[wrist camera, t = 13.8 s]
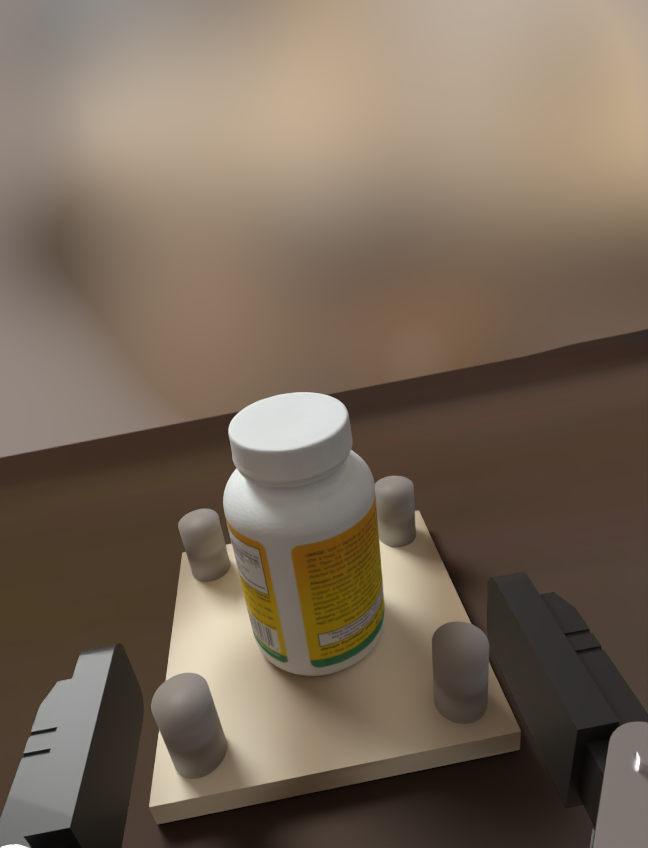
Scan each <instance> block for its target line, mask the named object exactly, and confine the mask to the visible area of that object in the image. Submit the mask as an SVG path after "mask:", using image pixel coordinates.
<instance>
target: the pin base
mask: <svg viewBox="0 0 648 848" xmlns="http://www.w3.org/2000/svg"><path fill="white" fill-rule="evenodd" d="M375 494H376V507H377V519H378V532H379V544H380V555H381V568H382V579H383V594H384V608H385V621H384V627H383V630H382V633H381V636H380V638H379V640H378V641H377V643H376V645H375V646H374V647H373V649H372V650H371V651H370V652H369V653H368V654H367V655H366V656H365V657H364V658H362V659H361V660H360V661H358V662H357V663H355V664H353V665H351V666H349V667H347V668H345V669H342V670H340V671H338V672H334V673H331V674H327V675H321V676H304V675H298V674H294V673H290V672H287V671H285V670H283V669H281V668H279V667H277V666H276V665H274V664H273V663H271V662H270V661H269V660H268V659H267V658H266V657H265V656H264V654H263V653H262V652H261V650H260V649H259V647H258V645H257V643H256V640H255V637H254V634H253V630H252V627H251V623H250V618H249V614H248V610H247V606H246V602H245V596H244V592H243V588H242V584H241V580H240V576H239V571H238V567H237V563H236V559H235V555H234V551H233V547H232V544H229V545H225V541H224V537H223V533H222V529H221V525H220V521H219V517H218V514H217V513H216V512H215V511H213V510H210V509H199V510H195V511H192V512H190V513H188V514H186V515H185V516H184V517H183V518H182V519H181V520H180V521H179V524H178V527H179V531H180V534H181V537H182V541H183V544H184V547H185V551H186V552H184V553H182V561H181V568H180V576H179V583H178V591H177V599H176V606H175V614H174V622H173V629H172V637H171V644H170V652H169V660H168V667H167V675H166V681H165V682H164V683H163V684H162V685H161V686H160V687H159V688H158V689H157V691H156V692H155V694H154V696H153V699H152V703H151V710H152V713H153V716H154V718H155V721H156V723H157V725H158V728H159V736H158V743H157V751H156V759H155V766H154V774H153V782H152V789H151V797H150V804H149V808H150V810H151V812H152V814H153V816H154V819H155V821H156V823H157V825H158V824H163V823H167V822H172V821H177V820H182V819H187V818H192V817H197V816H201V815H206V814H211V813H216V812H221V811H226V810H231V809H235V808H240V807H245V806H250V805H255V804H260V803H265V802H269V801H274V800H279V799H284V798H289V797H294V796H299V795H303V794H308V793H313V792H318V791H323V790H328V789H332V788H337V787H342V786H347V785H352V784H357V783H362V782H366V781H371V780H376V779H381V778H386V777H391V776H396V775H400V774H405V773H410V772H415V771H420V770H425V769H430V768H434V767H439V766H444V765H449V764H454V763H459V762H464V761H468V760H473V759H478V758H483V757H488V756H493V755H498V754H502V753H507V752H512V751H517V750H520V740H521V730H520V728H519V726H518V724H517V721H516V719H515V717H514V715H513V713H512V711H511V708H510V706H509V704H508V702H507V700H506V698H505V695H504V693H503V691H502V689H501V687H500V685H499V683H498V680H497V678H496V676H495V674H494V672H493V670H492V667H491V665H490V663H489V642H488V639H487V637H486V635H485V634H484V633H483V632H482V631H481V630H480V629H479V628H478V627H476V626H474V625H472V624H471V622H470V620H469V618H468V616H467V614H466V611H465V609H464V607H463V605H462V603H461V601H460V598H459V596H458V594H457V592H456V590H455V588H454V585H453V583H452V581H451V579H450V577H449V575H448V573H447V570H446V568H445V566H444V564H443V562H442V560H441V557H440V555H439V553H438V551H437V549H436V547H435V544H434V542H433V540H432V538H431V536H430V534H429V532H428V529H427V527H426V525H425V523H424V521H423V519H422V516H421V514H420V512H419V511H415V506H414V487H413V483H412V482H411V481H410V480H409V479H407V478H405V477H401V476H389V477H385V478H382V479H380V480H379V481H378V482H377V483H376V484H375Z"/></svg>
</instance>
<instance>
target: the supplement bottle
mask: <svg viewBox="0 0 648 848" xmlns="http://www.w3.org/2000/svg"><path fill="white" fill-rule="evenodd" d="M228 432H229V439H230V443H231V449H232V457H233V462H234V464H235V466H236V467H237V469H236V470H235V471H234V472H233V474H232V475H231V477H230V479H229V480H228V483H227V485H226V488H225V492H224V498H223V504H224V512H225V517H226V521H227V526H228V530H229V534H230V538H231V543H232V547H233V551H234V555H235V559H236V563H237V567H238V571H239V576H240V580H241V584H242V588H243V592H244V596H245V602H246V606H247V610H248V614H249V618H250V623H251V627H252V630H253V634H254V637H255V640H256V643H257V645H258V647H259V649H260V650H261V652H262V653H263V654H264V656H265V657H266V658H267V659H268V660H269V661H270V662H271V663H273V664H274V665H276V666H277V667H279V668H281V669H283V670H285V671H287V672H290V673H294V674H298V675H304V676H321V675H327V674H331V673H334V672H338V671H340V670H342V669H345V668H347V667H349V666H351V665H353V664H355V663H357V662H358V661H360V660H361V659H362V658H364V657H365V656H366V655H367V654H368V653H369V652H370V651H371V650H372V649H373V647H374V646H375V645H376V643H377V641H378V640H379V638H380V636H381V633H382V630H383V627H384V621H385V608H384V594H383V579H382V568H381V555H380V544H379V532H378V519H377V507H376V494H375V484H374V479H373V476H372V473H371V471H370V469H369V467H368V466H367V464H366V463H365V462H364V460H363V459H362V458H361V457H360V456H358V455H357V454H356V453H355V452H353V451H352V450H351V448H352V442H353V441H352V435H351V428H350V421H349V414H348V412H347V409H346V407H345V406H344V405H343V403H341V402H340V401H339V400H337V399H335V398H333V397H331V396H328V395H323V394H318V393H309V392H300V393H288V394H282V395H277V396H273V397H269V398H266V399H263V400H260V401H257V402H255V403H253V404H251V405H249V406H247V407H246V408H245V409H243V410H242V411H240V412H239V413H238V414H237V415H236V416H235V417H234V418H233V419H232V421H231V423H230V425H229V431H228Z"/></svg>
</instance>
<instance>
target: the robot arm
mask: <svg viewBox="0 0 648 848" xmlns="http://www.w3.org/2000/svg"><path fill="white" fill-rule="evenodd" d="M487 633H488V638H489V642H490V646H491V649H492V652H493V654H494V657H495V659H496V661H497V663H498V665H499V667H500V669H501V672H502V674H503V676H504V678H505V680H506V682H507V684H508V686H509V689H510V691H511V693H512V695H513V697H514V699H515V701H516V704H517V706H518V708H519V710H520V712H521V714H522V716H523V718H524V721H525V723H526V725H527V727H528V729H529V731H530V733H531V735H532V738H533V740H534V742H535V744H536V746H537V748H538V750H539V752H540V755H541V757H542V759H543V761H544V763H545V765H546V767H547V769H548V772H549V774H550V776H551V778H552V780H553V782H554V784H555V786H556V789H557V791H558V793H559V795H560V797H561V799H562V801H563V803H564V806H565V808H568V807H573V806H578V805H583V804H584V806H585V808H586V810H587V812H588V814H589V816H590V818H591V820H592V822H593V826H592V832H591V838H590V845H589V848H648V714H647V712H646V711H645V709H644V708H643V706H642V705H641V704H640V702H639V701H638V699H637V698H636V696H635V695H634V693H633V692H632V690H631V689H630V687H629V686H628V685H627V683H626V682H625V680H624V679H623V677H622V676H621V674H620V673H619V671H618V670H617V668H616V667H615V666H614V664H613V663H612V661H611V660H610V658H609V657H608V655H607V654H606V652H605V651H604V650H602V649H601V645H600V644H599V642H598V641H597V639H596V638H595V636H594V635H593V633H590V630H589V628H588V626H587V625H586V623H585V622H584V620H583V619H582V617H581V616H580V614H579V613H578V611H577V610H576V609H575V608H574V607H573V606H572V605H570V604H569V603H568V602H566V601H565V600H564V599H562V598H561V597H560V596H558V595H557V594H556V593H554V592H552V593H546V594H541V595H539V593H538V591H537V590H536V588H535V587H534V585H533V583H532V582H531V580H530V579H529V577H528V576H527V575H526V574H525V573H524V572H520V573H515V574H509V575H504V576H498V577H492V578H490V579H489V580H488V598H487ZM143 712H144V707H143V696H142V692H141V688H140V686H139V683H138V681H137V678H136V676H135V674H134V671H133V669H132V666H131V664H130V661H129V659H128V657H127V654H126V652H125V649H124V647H123V646H122V645H121V644H114V645H109V646H103V647H98V648H92V649H87V650H84V651H82V653H81V654H80V656H79V659H78V662H77V665H76V668H75V672H74V675H73V678H72V679H69V680H64V681H58V682H57V684H56V685H55V686H54V688H53V689H52V691H51V692H50V693H49V695H48V696H47V697H46V699H45V700H44V701H43V703H42V704H41V705H40V708H39V711H38V713H37V716H36V719H35V722H34V725H33V728H32V731H31V737H29V739H28V742H27V745H26V748H25V751H24V758H23V759H21V762H20V765H19V768H18V771H17V773H16V776H15V779H14V782H13V785H12V788H11V791H10V793H9V796H8V799H7V802H6V805H5V808H4V811H3V813H2V816H1V819H0V848H121V847H122V841H123V835H124V829H125V824H126V818H127V812H128V806H129V800H130V794H131V788H132V782H133V776H134V770H135V764H136V758H137V752H138V747H139V741H140V735H141V729H142V723H143Z"/></svg>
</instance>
